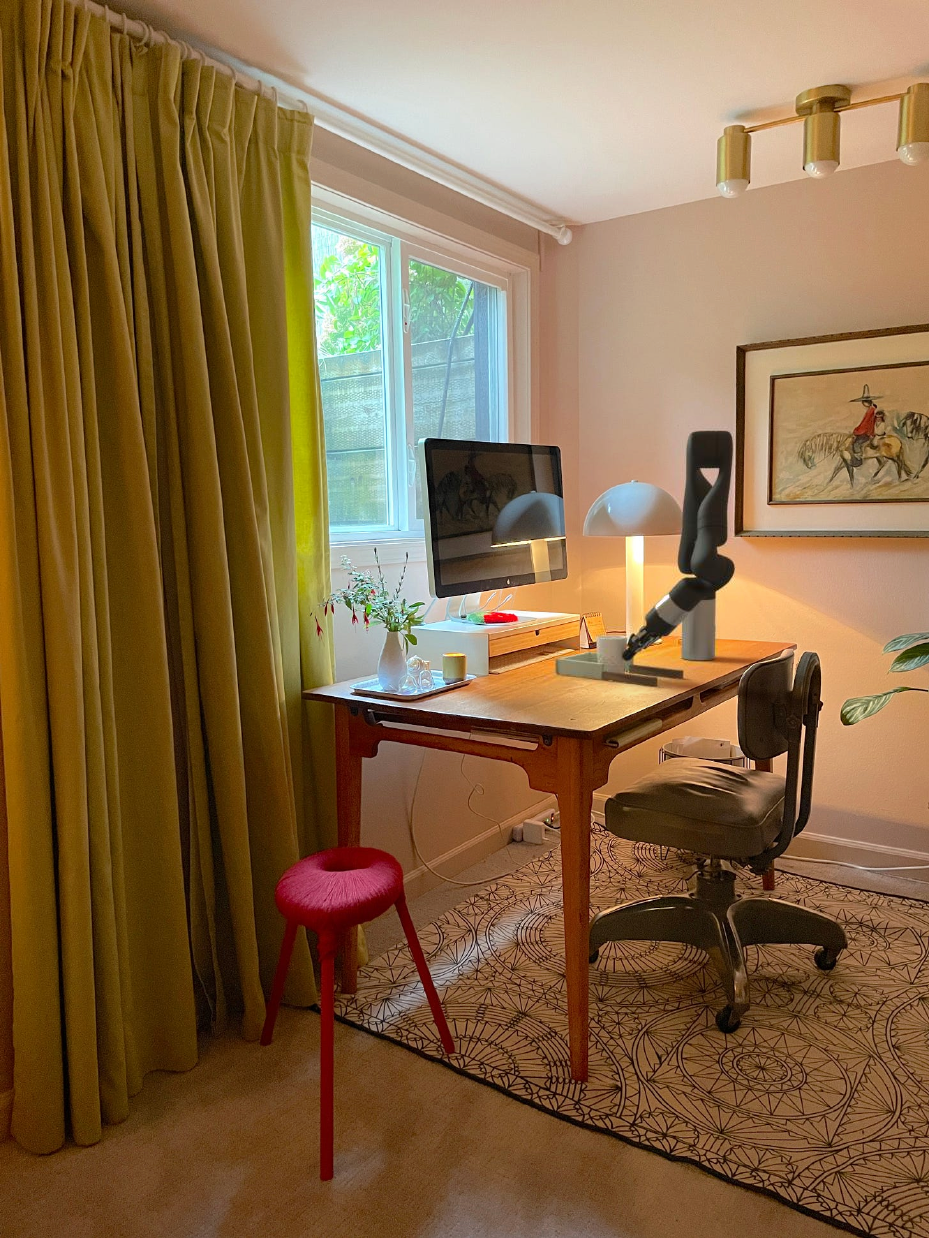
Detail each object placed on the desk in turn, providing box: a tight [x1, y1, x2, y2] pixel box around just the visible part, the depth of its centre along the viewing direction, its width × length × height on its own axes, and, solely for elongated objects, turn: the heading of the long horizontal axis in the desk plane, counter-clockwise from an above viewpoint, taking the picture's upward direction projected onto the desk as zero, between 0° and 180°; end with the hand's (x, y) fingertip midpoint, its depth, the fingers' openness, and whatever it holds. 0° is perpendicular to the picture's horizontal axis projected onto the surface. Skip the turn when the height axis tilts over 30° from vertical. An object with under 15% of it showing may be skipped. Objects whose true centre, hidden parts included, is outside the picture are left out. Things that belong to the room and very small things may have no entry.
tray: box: [555, 651, 635, 681], centre depth 248 cm, size 15×14×4 cm
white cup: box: [596, 634, 628, 674], centre depth 244 cm, size 8×8×10 cm
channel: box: [601, 664, 684, 687], centre depth 239 cm, size 15×15×2 cm
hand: (625, 658), depth 241 cm, fingers closed
